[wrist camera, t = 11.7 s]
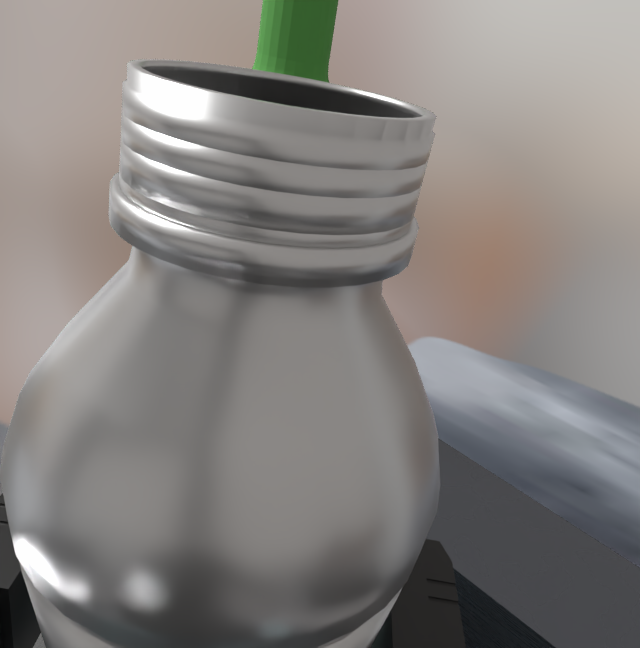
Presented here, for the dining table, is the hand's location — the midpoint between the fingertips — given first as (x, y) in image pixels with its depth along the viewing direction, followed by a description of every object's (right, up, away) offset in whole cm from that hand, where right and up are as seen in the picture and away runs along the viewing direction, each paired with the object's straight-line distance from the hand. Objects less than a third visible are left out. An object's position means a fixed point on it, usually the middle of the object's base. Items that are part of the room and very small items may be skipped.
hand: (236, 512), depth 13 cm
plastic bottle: (-2, -11, +3) cm, 11 cm away
